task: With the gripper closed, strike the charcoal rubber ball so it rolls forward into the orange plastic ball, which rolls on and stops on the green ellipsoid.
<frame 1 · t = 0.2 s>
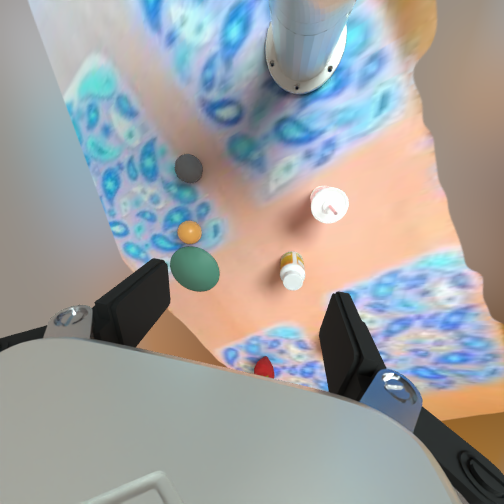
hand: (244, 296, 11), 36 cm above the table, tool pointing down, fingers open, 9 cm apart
orange ball: (189, 232, 48), on the table
beverage cup: (321, 196, 43), on the table
strawberry: (265, 356, 66), on the table
supplement bottle: (291, 260, 50), on the table
charcoal cue ball: (188, 168, 42), on the table
green ellipsoid: (194, 269, 56), on the table
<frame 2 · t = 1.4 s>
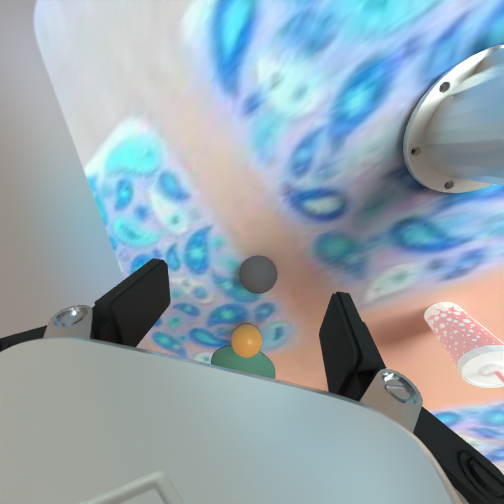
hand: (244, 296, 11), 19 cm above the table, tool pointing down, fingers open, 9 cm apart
orange ball: (246, 340, 36), on the table
beverage cup: (440, 313, 31), on the table
charcoal cue ball: (258, 274, 30), on the table
green ellipsoid: (242, 368, 44), on the table
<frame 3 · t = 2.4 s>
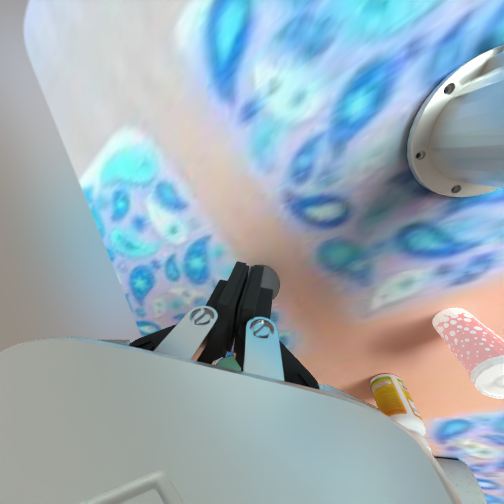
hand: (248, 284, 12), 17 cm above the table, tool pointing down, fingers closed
beverage cup: (449, 319, 30), on the table
ceramic mug: (437, 461, 45), on the table
supplement bottle: (385, 381, 37), on the table
charcoal cue ball: (260, 284, 29), on the table
green ellipsoid: (246, 378, 43), on the table
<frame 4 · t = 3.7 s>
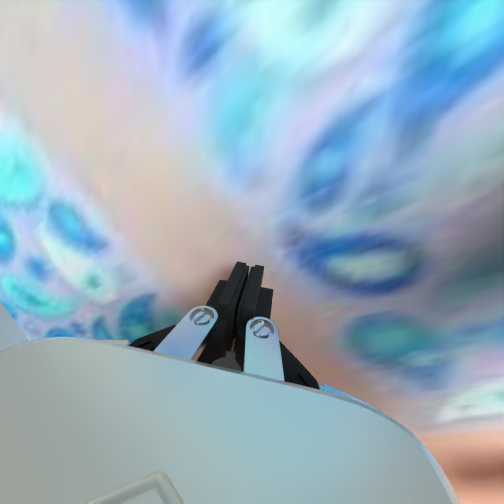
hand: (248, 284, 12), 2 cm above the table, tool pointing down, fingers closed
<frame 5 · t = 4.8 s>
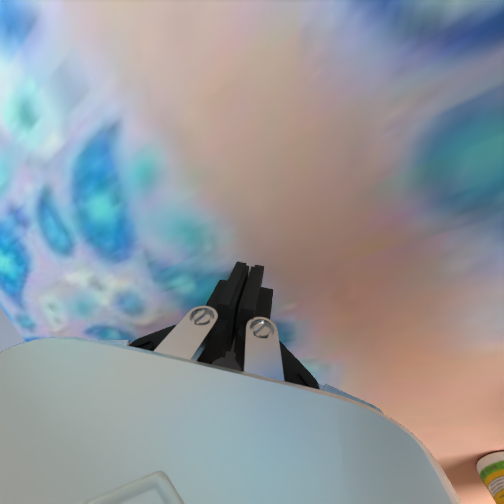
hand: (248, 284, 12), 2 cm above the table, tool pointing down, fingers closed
charcoal cue ball: (230, 362, 14), on the table
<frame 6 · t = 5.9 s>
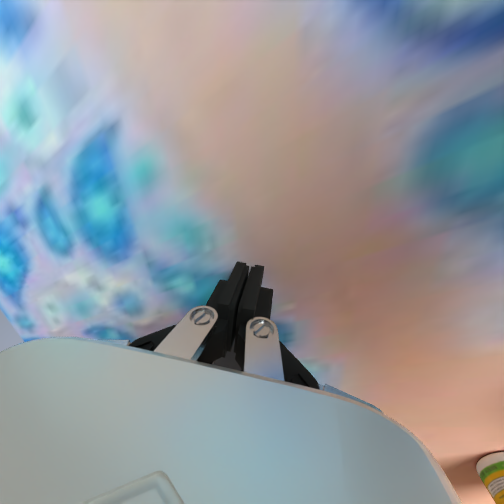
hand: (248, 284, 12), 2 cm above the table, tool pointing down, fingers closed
charcoal cue ball: (230, 362, 14), on the table
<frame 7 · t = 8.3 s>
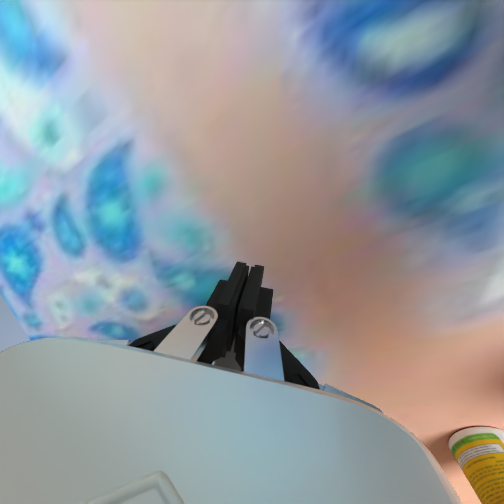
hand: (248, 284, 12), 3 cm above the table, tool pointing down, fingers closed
supplement bottle: (475, 438, 20), on the table
charcoal cue ball: (226, 348, 16), on the table
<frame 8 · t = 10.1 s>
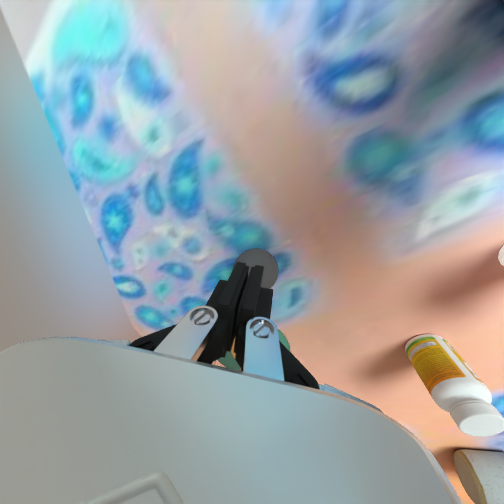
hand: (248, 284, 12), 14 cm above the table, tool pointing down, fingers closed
ceramic mug: (475, 454, 38), on the table
supplement bottle: (423, 345, 29), on the table
charcoal cue ball: (255, 270, 25), on the table
green ellipsoid: (249, 348, 35), on the table
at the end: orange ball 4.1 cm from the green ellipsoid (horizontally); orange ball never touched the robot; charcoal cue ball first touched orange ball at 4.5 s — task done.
